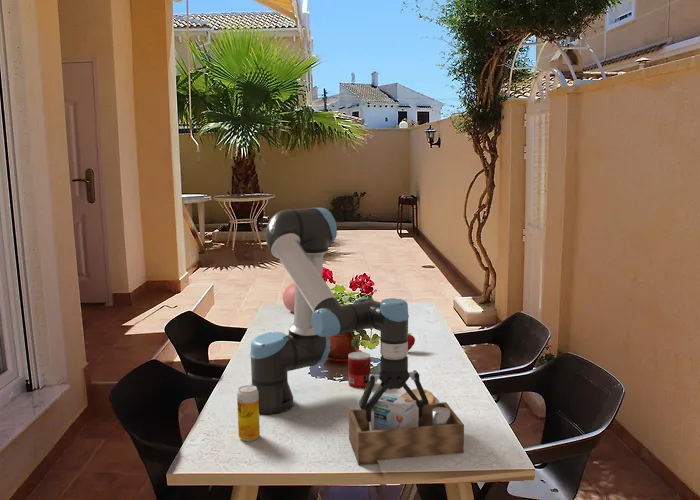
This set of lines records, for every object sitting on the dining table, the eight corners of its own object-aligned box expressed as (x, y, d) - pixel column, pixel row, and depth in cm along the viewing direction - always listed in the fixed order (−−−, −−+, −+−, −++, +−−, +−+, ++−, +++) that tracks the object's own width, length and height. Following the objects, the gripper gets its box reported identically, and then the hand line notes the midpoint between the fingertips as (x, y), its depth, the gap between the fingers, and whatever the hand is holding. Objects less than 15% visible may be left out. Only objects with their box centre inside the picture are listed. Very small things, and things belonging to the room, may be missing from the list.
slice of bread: (426, 392, 220) (426, 382, 220) (450, 412, 203) (450, 401, 203) (377, 399, 215) (377, 388, 214) (397, 420, 198) (397, 409, 198)
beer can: (234, 437, 186) (232, 388, 184) (251, 431, 191) (250, 383, 188) (246, 444, 182) (245, 394, 180) (264, 437, 186) (262, 388, 184)
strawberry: (416, 354, 260) (416, 330, 259) (398, 355, 259) (398, 331, 258) (413, 350, 266) (413, 326, 264) (395, 350, 265) (395, 327, 264)
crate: (358, 465, 169) (358, 433, 168) (349, 438, 185) (348, 409, 184) (463, 456, 174) (464, 424, 173) (445, 431, 190) (445, 402, 188)
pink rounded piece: (323, 315, 324) (322, 285, 322) (283, 316, 321) (282, 286, 319) (320, 307, 339) (320, 279, 337) (282, 309, 337) (281, 280, 334)
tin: (434, 445, 178) (435, 415, 177) (429, 437, 183) (429, 407, 182) (451, 444, 179) (452, 413, 178) (446, 436, 184) (446, 406, 182)
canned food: (368, 389, 223) (368, 359, 221) (346, 387, 225) (346, 357, 223) (372, 381, 231) (372, 352, 229) (350, 380, 232) (350, 351, 230)
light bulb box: (371, 436, 179) (371, 399, 177) (383, 427, 184) (383, 392, 183) (405, 445, 173) (405, 408, 171) (416, 436, 178) (417, 399, 177)
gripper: (352, 362, 169) (353, 439, 173) (440, 357, 173) (439, 432, 176) (348, 353, 177) (349, 427, 180) (432, 348, 180) (431, 421, 184)
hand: (393, 430), depth 178 cm, fingers closed on light bulb box, 12 cm apart
